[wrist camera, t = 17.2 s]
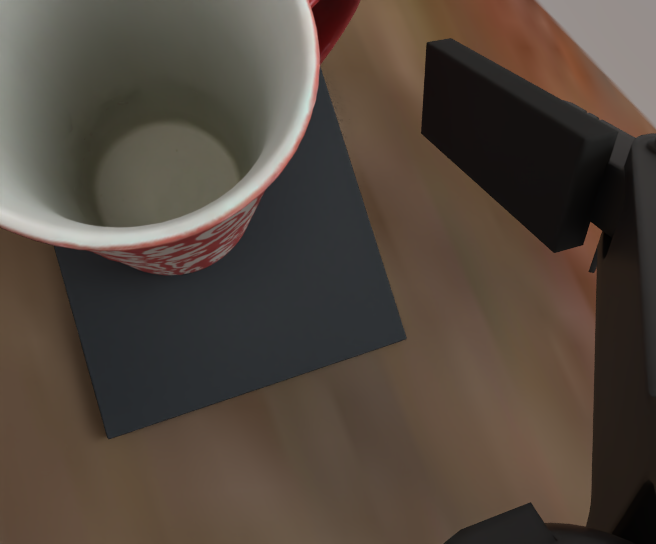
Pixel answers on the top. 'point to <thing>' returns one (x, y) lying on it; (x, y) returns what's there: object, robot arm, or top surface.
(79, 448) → the top surface
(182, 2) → the mug
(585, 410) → the top surface
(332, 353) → the mat
